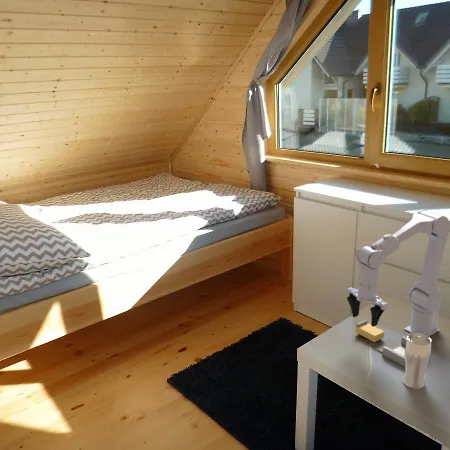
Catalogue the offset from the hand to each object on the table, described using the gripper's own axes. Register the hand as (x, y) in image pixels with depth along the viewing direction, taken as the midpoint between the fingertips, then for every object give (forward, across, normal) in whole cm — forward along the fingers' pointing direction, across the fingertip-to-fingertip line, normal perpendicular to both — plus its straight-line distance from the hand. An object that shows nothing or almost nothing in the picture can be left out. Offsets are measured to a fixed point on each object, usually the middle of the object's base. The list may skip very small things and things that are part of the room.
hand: (364, 320), depth 154 cm
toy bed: (+10, -2, +6) cm, 12 cm away
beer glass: (+10, +22, -4) cm, 24 cm away
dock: (+10, +9, +6) cm, 15 cm away
